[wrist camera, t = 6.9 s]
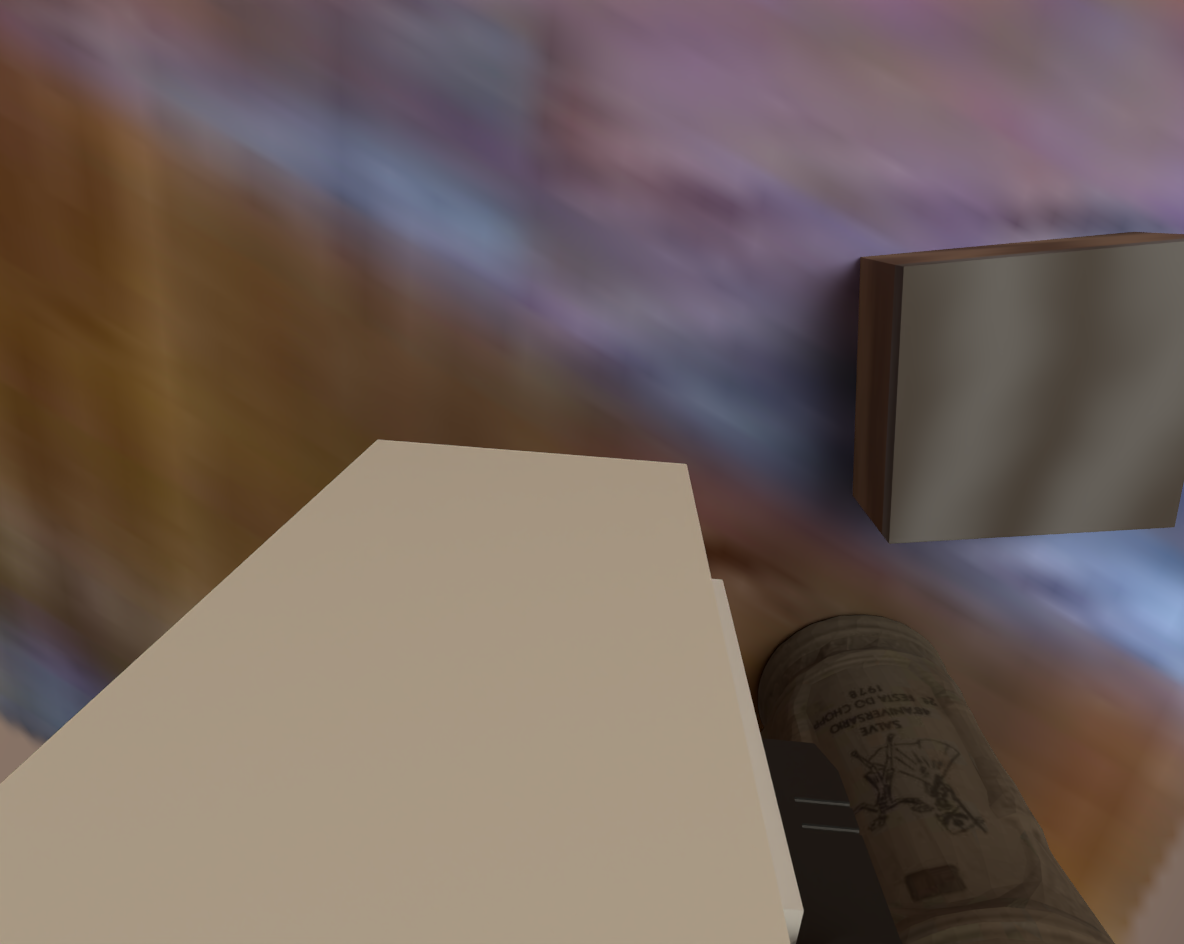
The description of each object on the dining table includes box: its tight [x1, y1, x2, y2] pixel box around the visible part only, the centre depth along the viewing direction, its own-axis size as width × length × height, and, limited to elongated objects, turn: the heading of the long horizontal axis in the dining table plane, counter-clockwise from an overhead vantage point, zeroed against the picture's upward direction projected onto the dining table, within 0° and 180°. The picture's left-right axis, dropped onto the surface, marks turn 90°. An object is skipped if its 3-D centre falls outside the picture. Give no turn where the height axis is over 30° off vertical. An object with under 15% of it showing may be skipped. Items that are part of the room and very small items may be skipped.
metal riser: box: [853, 232, 1184, 544], centre depth 32 cm, size 12×12×6 cm
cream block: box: [0, 440, 790, 944], centre depth 9 cm, size 6×6×12 cm
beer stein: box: [758, 615, 1115, 944], centre depth 33 cm, size 15×11×20 cm
